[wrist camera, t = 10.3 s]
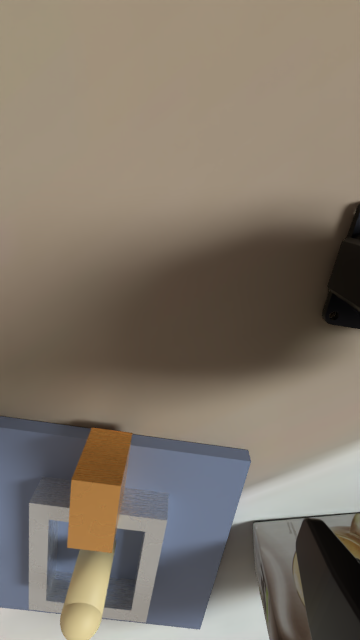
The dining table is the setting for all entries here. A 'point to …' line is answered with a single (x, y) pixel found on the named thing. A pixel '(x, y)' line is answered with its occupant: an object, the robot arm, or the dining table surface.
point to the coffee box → (291, 571)
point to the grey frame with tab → (96, 526)
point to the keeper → (97, 567)
